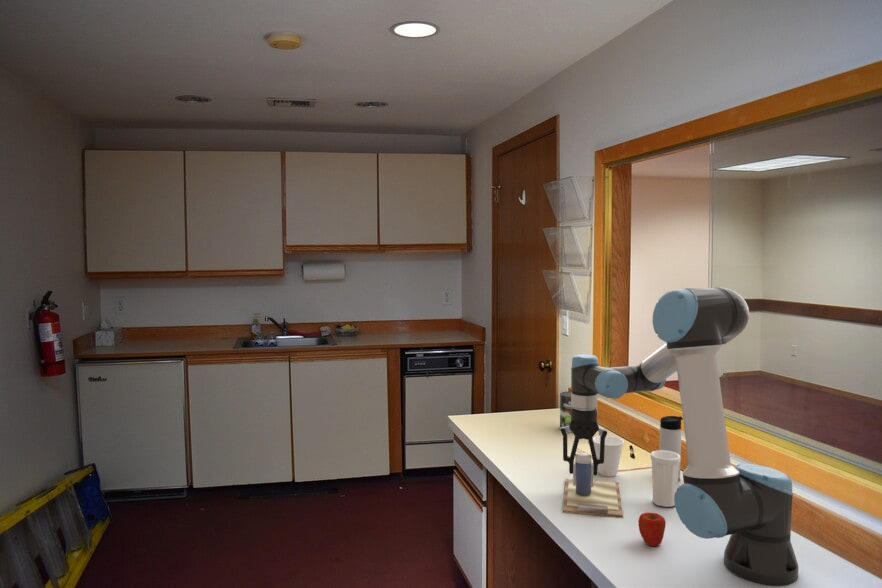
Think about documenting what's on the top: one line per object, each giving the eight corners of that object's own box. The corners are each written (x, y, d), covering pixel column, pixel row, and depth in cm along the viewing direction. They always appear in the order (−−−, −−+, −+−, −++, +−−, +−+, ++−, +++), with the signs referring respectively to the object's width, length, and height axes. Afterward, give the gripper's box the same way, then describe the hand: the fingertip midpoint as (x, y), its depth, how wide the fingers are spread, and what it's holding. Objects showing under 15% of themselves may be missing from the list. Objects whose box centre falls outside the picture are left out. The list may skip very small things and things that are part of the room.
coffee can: (584, 433, 246) (585, 398, 245) (558, 431, 249) (558, 396, 248) (586, 426, 256) (587, 392, 255) (561, 424, 259) (561, 390, 258)
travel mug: (682, 483, 195) (684, 420, 193) (660, 482, 196) (661, 419, 194) (679, 476, 201) (680, 414, 199) (657, 474, 202) (659, 413, 200)
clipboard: (622, 517, 171) (623, 511, 171) (562, 512, 174) (562, 506, 174) (618, 484, 194) (618, 478, 194) (565, 480, 198) (565, 474, 198)
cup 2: (660, 511, 175) (661, 460, 174) (643, 499, 183) (644, 451, 181) (685, 507, 177) (686, 458, 176) (667, 496, 185) (669, 448, 184)
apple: (633, 543, 156) (634, 514, 155) (645, 535, 160) (646, 507, 160) (657, 552, 151) (658, 522, 151) (669, 543, 156) (670, 514, 155)
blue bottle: (589, 495, 182) (589, 457, 182) (573, 493, 184) (573, 455, 184) (593, 491, 186) (593, 454, 186) (577, 489, 188) (577, 452, 188)
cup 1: (588, 476, 201) (588, 442, 201) (596, 466, 210) (596, 433, 209) (619, 481, 197) (620, 446, 196) (626, 471, 206) (626, 438, 205)
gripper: (614, 405, 187) (612, 482, 189) (554, 402, 190) (553, 477, 192) (615, 412, 179) (614, 492, 181) (553, 409, 183) (552, 487, 185)
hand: (583, 484), depth 187 cm, fingers closed on blue bottle, 4 cm apart
